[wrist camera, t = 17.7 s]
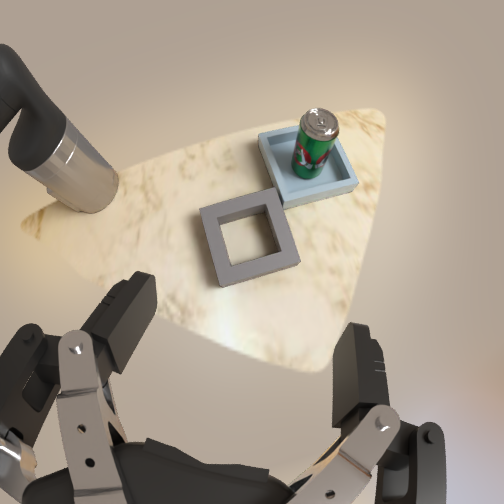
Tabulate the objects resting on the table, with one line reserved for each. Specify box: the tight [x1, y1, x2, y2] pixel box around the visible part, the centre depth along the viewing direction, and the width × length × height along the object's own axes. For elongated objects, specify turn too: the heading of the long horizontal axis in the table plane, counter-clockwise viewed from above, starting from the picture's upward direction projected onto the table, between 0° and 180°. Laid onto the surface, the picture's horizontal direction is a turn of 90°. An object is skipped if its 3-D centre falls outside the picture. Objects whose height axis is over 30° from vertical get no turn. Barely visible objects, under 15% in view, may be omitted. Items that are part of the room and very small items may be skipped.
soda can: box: [291, 108, 339, 179], centre depth 37 cm, size 5×5×12 cm
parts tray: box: [258, 125, 359, 210], centre depth 42 cm, size 12×12×4 cm
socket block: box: [199, 187, 301, 288], centre depth 39 cm, size 11×11×4 cm
